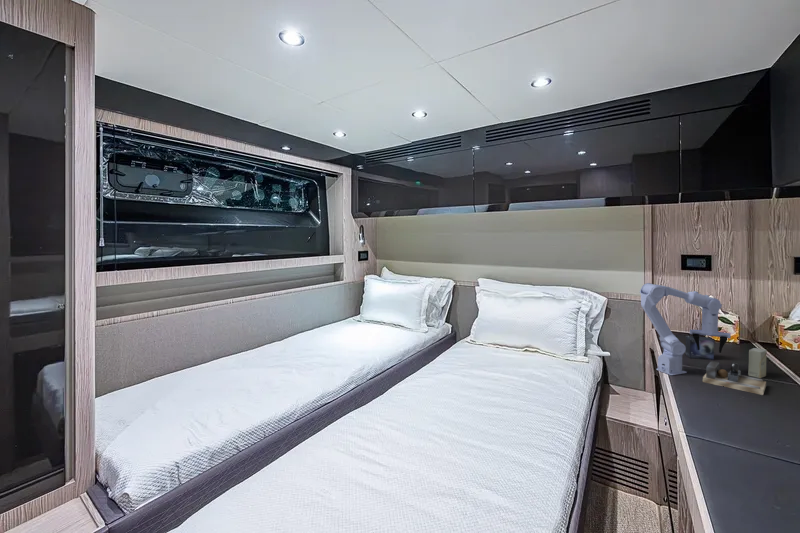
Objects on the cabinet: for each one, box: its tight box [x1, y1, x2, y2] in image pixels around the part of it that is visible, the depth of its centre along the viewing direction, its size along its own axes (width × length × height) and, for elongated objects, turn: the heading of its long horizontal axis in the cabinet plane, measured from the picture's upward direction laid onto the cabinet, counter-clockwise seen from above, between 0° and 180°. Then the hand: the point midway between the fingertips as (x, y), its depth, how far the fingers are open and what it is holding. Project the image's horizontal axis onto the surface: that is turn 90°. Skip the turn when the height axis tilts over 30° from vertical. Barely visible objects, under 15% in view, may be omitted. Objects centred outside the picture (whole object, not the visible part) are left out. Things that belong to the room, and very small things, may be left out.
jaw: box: [728, 362, 742, 382], centre depth 156 cm, size 3×9×7 cm, turn 131°
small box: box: [684, 335, 716, 361], centre depth 189 cm, size 11×6×10 cm, turn 69°
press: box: [702, 360, 767, 396], centre depth 156 cm, size 19×12×7 cm, turn 40°
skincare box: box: [747, 347, 768, 379], centre depth 163 cm, size 6×4×12 cm
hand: (709, 350), depth 169 cm, fingers open, 7 cm apart
